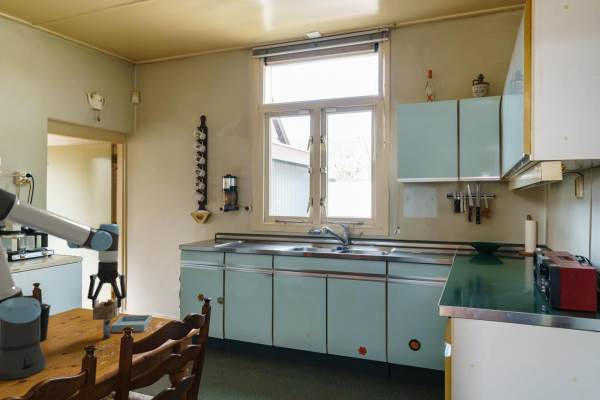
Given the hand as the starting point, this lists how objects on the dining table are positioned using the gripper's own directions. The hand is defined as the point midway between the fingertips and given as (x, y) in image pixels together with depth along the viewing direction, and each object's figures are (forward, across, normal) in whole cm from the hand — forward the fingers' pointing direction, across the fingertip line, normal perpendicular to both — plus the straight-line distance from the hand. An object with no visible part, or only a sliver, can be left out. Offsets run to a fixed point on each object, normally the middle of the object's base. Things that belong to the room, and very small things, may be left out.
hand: (106, 315), depth 175 cm
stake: (+9, -1, 0) cm, 9 cm away
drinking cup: (+10, +25, 0) cm, 27 cm away
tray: (+9, -7, -14) cm, 18 cm away
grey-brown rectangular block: (0, 0, 0) cm, 0 cm away
